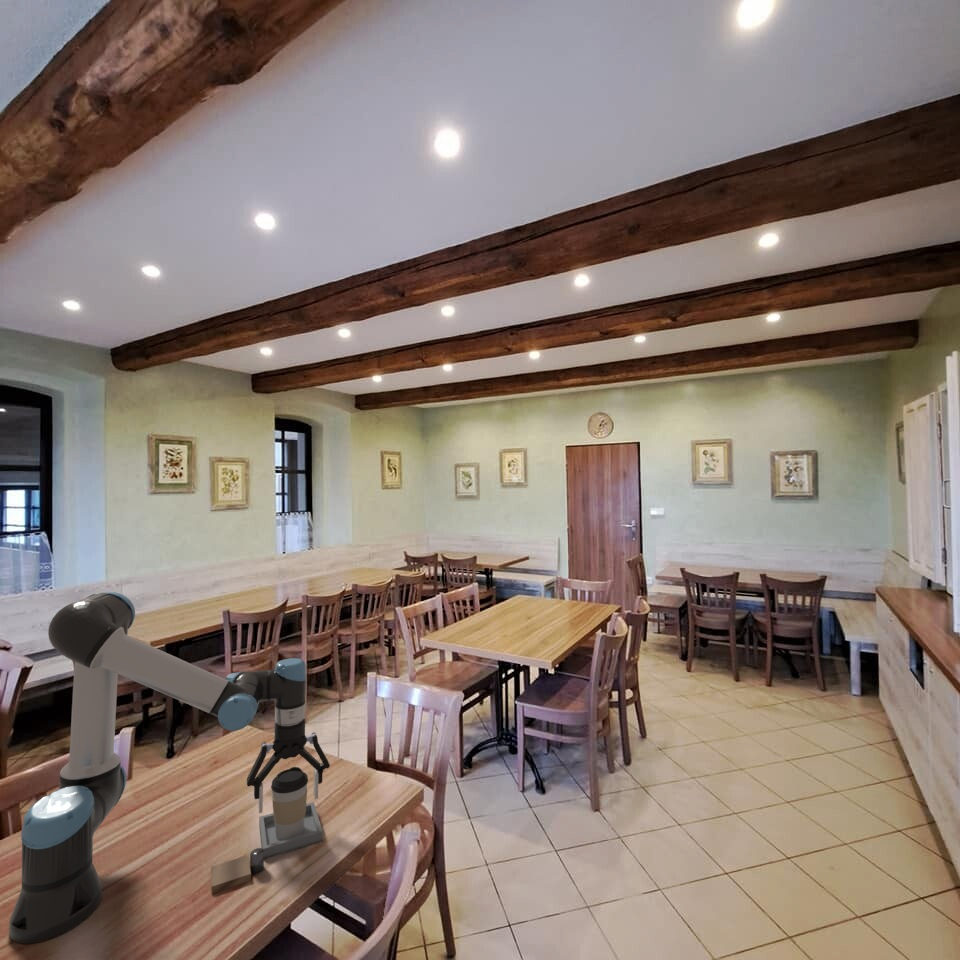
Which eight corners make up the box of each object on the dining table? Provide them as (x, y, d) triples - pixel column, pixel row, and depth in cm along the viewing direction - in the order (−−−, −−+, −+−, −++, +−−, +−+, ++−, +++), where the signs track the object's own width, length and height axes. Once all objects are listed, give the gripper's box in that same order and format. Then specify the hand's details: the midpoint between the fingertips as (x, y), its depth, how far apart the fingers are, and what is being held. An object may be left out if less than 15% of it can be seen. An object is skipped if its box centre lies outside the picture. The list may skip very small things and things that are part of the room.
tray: (263, 859, 124) (263, 849, 124) (259, 826, 136) (259, 816, 136) (322, 841, 130) (322, 831, 130) (313, 811, 142) (313, 802, 142)
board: (211, 895, 113) (211, 886, 113) (211, 875, 119) (211, 866, 119) (250, 882, 117) (250, 873, 117) (248, 863, 123) (248, 854, 123)
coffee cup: (295, 845, 127) (296, 784, 128) (263, 841, 129) (263, 781, 130) (314, 823, 136) (314, 766, 137) (283, 819, 138) (284, 763, 139)
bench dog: (250, 876, 118) (250, 858, 118) (249, 867, 121) (249, 850, 121) (264, 871, 120) (264, 854, 120) (263, 863, 122) (263, 846, 122)
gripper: (237, 736, 125) (236, 824, 124) (341, 717, 136) (340, 798, 135) (237, 724, 132) (235, 808, 131) (335, 706, 143) (334, 783, 142)
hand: (288, 803), depth 133 cm, fingers open, 13 cm apart
